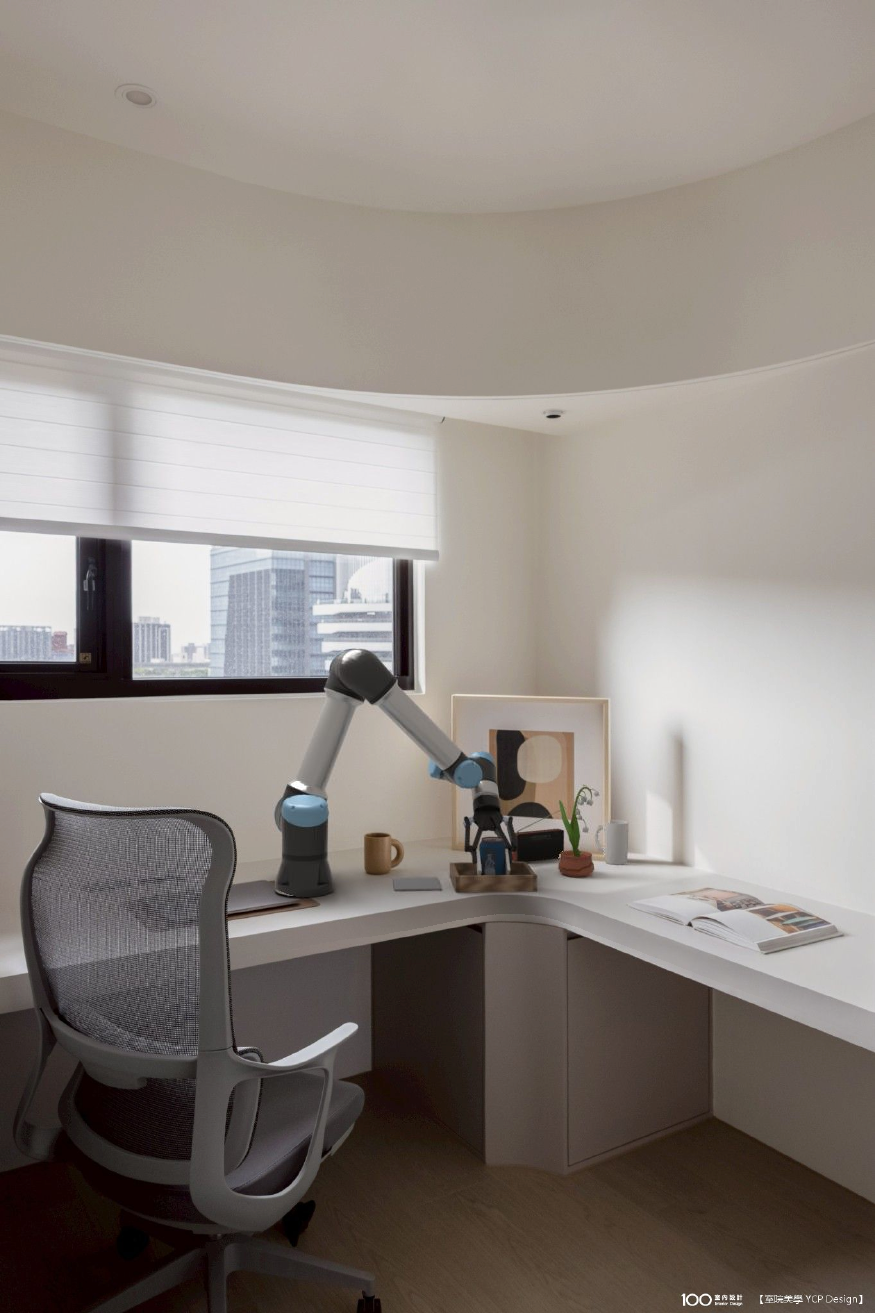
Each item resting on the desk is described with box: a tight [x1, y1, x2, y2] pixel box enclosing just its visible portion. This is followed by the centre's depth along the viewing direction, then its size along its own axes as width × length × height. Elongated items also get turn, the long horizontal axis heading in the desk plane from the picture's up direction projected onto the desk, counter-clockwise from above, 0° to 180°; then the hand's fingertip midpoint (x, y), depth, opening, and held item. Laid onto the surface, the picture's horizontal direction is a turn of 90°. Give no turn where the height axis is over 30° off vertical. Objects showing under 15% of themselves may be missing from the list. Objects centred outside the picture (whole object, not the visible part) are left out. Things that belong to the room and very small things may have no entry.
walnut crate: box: [449, 861, 538, 893], centre depth 241 cm, size 21×16×4 cm
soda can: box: [478, 836, 505, 875], centre depth 241 cm, size 7×7×12 cm
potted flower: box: [557, 784, 600, 878], centre depth 253 cm, size 12×10×25 cm
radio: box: [512, 809, 565, 863], centre depth 270 cm, size 19×3×15 cm, turn 118°
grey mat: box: [392, 876, 442, 892], centre depth 239 cm, size 12×12×1 cm
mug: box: [594, 819, 629, 866], centre depth 268 cm, size 10×7×12 cm, turn 61°
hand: (494, 873), depth 237 cm, fingers closed on soda can, 7 cm apart
